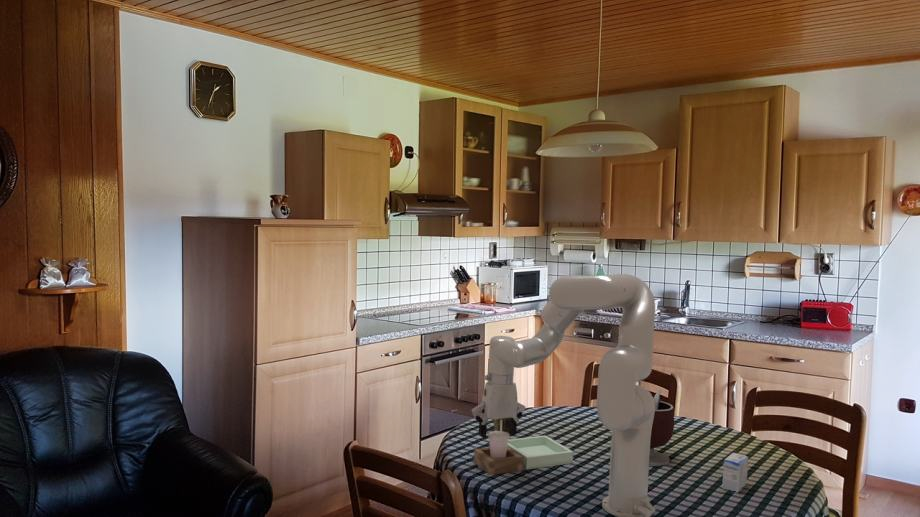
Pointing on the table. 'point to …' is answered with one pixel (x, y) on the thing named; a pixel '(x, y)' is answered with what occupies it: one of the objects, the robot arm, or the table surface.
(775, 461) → the table surface
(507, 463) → the socket block
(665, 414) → the mate gourd
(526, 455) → the tray
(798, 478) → the table surface
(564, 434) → the table surface
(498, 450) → the smoothie
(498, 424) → the ceramic cup
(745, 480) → the medicine box
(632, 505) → the robot arm
